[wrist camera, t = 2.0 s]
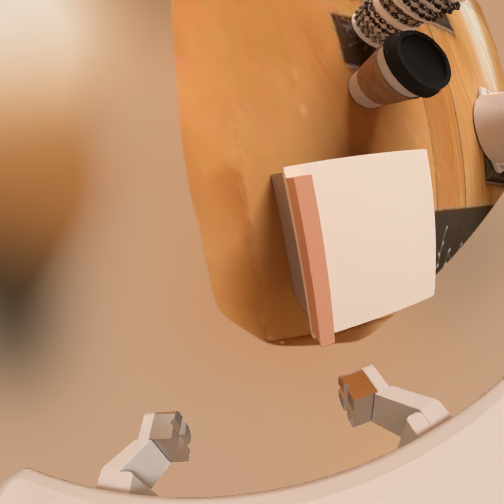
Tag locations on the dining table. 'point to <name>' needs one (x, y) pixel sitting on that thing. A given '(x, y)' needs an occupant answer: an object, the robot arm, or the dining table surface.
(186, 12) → the dining table surface
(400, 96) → the coffee cup
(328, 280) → the lid
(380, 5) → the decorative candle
